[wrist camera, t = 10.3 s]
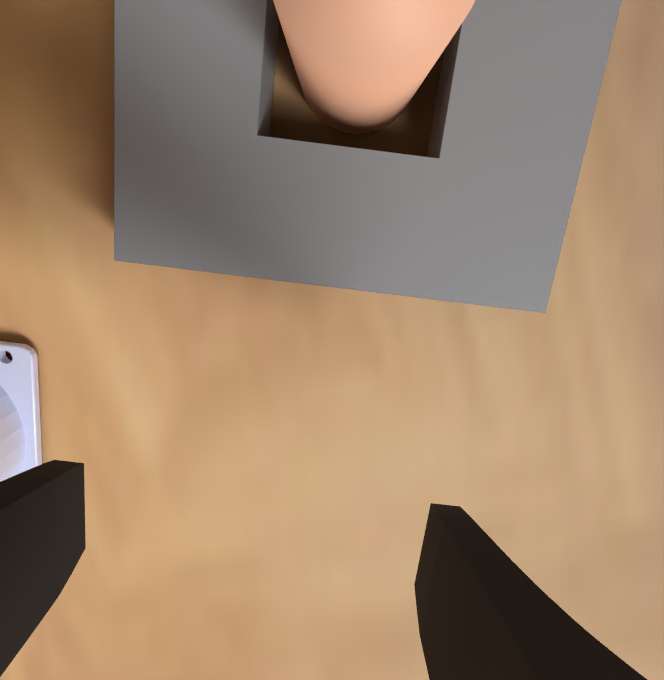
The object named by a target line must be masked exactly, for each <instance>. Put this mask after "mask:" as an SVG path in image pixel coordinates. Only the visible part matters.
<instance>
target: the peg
mask: <svg viewBox="0 0 664 680" xmlns="http://www.w3.org/2000/svg"><path fill="white" fill-rule="evenodd" d="M273 2H274V5H275V8H276V11H277V14H278V17H279V20H280V23H281V26H282V29H283V33H284V36H285V39H286V42H287V45H288V48H289V51H290V54H291V57H292V60H293V63H294V67H295V70H296V73H297V76H298V79H299V82H300V85H301V88H302V91H303V94H304V97H305V99H306V101H307V103H308V104H309V106H310V108H311V109H312V110H313V112H314V113H315V114H316V115H317V116H318V117H319V118H320V119H321V120H322V121H323V122H325V123H326V124H327V125H329V126H331V127H333V128H335V129H337V130H339V131H342V132H347V133H354V134H361V133H368V132H373V131H376V130H378V129H381V128H383V127H384V126H386V125H388V124H389V123H391V122H392V121H393V120H395V119H396V118H397V117H398V116H399V115H400V114H401V113H402V111H403V110H404V109H405V107H406V106H407V105H408V103H409V102H410V100H411V99H412V97H413V96H414V94H415V93H416V91H417V90H418V88H419V87H420V85H421V84H422V82H423V81H424V79H425V78H426V76H427V75H428V73H429V72H430V70H431V69H432V67H433V66H434V64H435V63H436V61H437V60H438V58H439V57H440V55H441V54H442V52H443V51H444V49H445V48H446V46H447V45H448V43H449V42H450V40H451V39H452V37H453V36H454V34H455V33H456V31H457V30H458V28H459V27H460V25H461V24H462V22H463V21H464V19H465V18H466V16H467V15H468V13H469V11H470V10H471V8H472V6H473V4H474V2H475V0H273Z"/></svg>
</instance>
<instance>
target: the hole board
mask: <svg viewBox="0 0 664 680" xmlns="http://www.w3.org/2000/svg"><path fill="white" fill-rule="evenodd" d="M621 1H622V0H475V2H474V4H473V6H472V8H471V10H470V11H469V13H468V15H467V16H466V18H465V19H464V21H463V22H462V24H461V25H460V27H459V28H458V30H457V31H456V33H455V34H454V36H453V37H452V39H451V40H450V42H449V43H448V45H447V46H446V48H445V49H444V53H443V59H442V65H441V71H440V77H439V83H438V89H437V96H436V102H435V108H434V114H433V120H432V126H431V133H430V139H429V145H428V151H427V157H423V156H415V155H407V154H399V153H392V152H384V151H376V150H368V149H360V148H352V147H344V146H337V145H329V144H321V143H313V142H305V141H297V140H289V139H281V138H274V137H270V125H271V112H272V100H273V87H274V75H275V62H276V50H277V37H278V25H279V17H278V14H277V11H276V8H275V5H274V2H273V0H114V261H123V262H131V263H139V264H147V265H155V266H164V267H172V268H180V269H188V270H196V271H204V272H213V273H221V274H229V275H237V276H245V277H254V278H262V279H270V280H278V281H286V282H294V283H303V284H311V285H319V286H327V287H335V288H344V289H352V290H360V291H368V292H376V293H384V294H393V295H401V296H409V297H417V298H425V299H433V300H442V301H450V302H458V303H466V304H474V305H483V306H491V307H499V308H507V309H515V310H523V311H532V312H540V313H545V312H546V308H547V304H548V300H549V296H550V292H551V288H552V284H553V280H554V275H555V271H556V267H557V263H558V259H559V255H560V251H561V247H562V243H563V239H564V234H565V230H566V226H567V222H568V218H569V214H570V210H571V206H572V202H573V198H574V193H575V189H576V185H577V181H578V177H579V173H580V169H581V165H582V161H583V157H584V152H585V148H586V144H587V140H588V136H589V132H590V128H591V124H592V120H593V115H594V111H595V107H596V103H597V99H598V95H599V91H600V87H601V83H602V79H603V74H604V70H605V66H606V62H607V58H608V54H609V50H610V46H611V42H612V38H613V33H614V29H615V25H616V21H617V17H618V13H619V9H620V5H621Z"/></svg>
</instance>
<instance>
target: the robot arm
mask: <svg viewBox="0 0 664 680" xmlns="http://www.w3.org/2000/svg"><path fill="white" fill-rule="evenodd" d="M6 351H8V352H9V353H10V354H11V355H12V358H13V359H12V360H9V359H8V358H7V357H6V354H5V353H6ZM84 550H85V499H84V463H76V462H68V461H59V460H53V461H50V462H47V463H44V464H42V450H41V427H40V405H39V382H38V360H37V354H36V352H35V350H34V349H33V348H32V347H30V346H29V345H26V344H21V343H13V342H5V341H0V677H1V675H2V674H3V672H4V671H5V670H6V668H7V667H8V666H9V664H10V663H11V661H12V660H13V659H14V657H15V656H16V655H17V653H18V652H19V651H20V649H21V648H22V646H23V645H24V644H25V642H26V641H27V640H28V638H29V637H30V635H31V634H32V633H33V631H34V630H35V628H36V627H37V626H38V624H39V623H40V622H41V620H42V619H43V617H44V616H45V615H46V613H47V612H48V610H49V609H50V608H51V606H52V605H53V603H54V602H55V600H56V599H57V598H58V596H59V595H60V593H61V591H62V589H63V588H64V586H65V584H66V582H67V581H68V579H69V577H70V576H71V574H72V572H73V570H74V568H75V566H76V564H77V563H78V561H79V559H80V557H81V555H82V553H83V551H84ZM415 595H416V605H417V615H418V623H419V632H420V638H421V643H422V647H423V652H424V656H425V661H426V665H427V670H428V674H429V679H430V680H647V679H646V678H644V677H643V676H642V675H640V674H639V673H638V672H637V671H635V670H634V669H633V668H631V667H630V666H629V665H628V664H626V663H625V662H624V661H623V660H621V659H620V658H619V657H618V656H616V655H615V654H614V653H613V652H612V651H610V650H609V649H608V648H607V647H605V646H604V645H603V644H602V643H600V642H599V641H598V640H597V639H595V638H594V637H593V636H592V635H591V634H590V633H588V632H587V631H586V630H585V629H584V628H583V627H581V626H580V625H579V624H578V623H577V622H576V621H574V620H573V619H572V618H571V617H570V616H569V615H568V614H567V613H566V612H565V611H564V610H562V609H561V608H560V607H559V606H558V605H557V604H556V603H555V602H554V601H553V600H552V599H550V598H549V597H548V596H547V595H546V594H545V593H544V592H543V591H542V590H541V589H540V588H539V587H538V586H537V585H536V584H535V583H534V582H533V581H532V580H531V579H530V578H529V577H528V576H527V575H526V574H525V573H524V572H523V571H522V570H521V569H520V568H519V567H518V566H517V565H516V564H515V563H514V562H513V561H512V560H511V559H510V558H509V557H508V556H507V555H506V554H505V553H504V552H503V551H502V550H501V549H500V548H499V547H498V546H497V545H496V544H495V542H494V541H493V540H492V539H491V538H490V537H489V536H488V535H487V534H486V533H485V532H484V531H483V530H482V529H481V528H480V527H479V525H478V524H477V523H476V522H475V521H474V520H473V519H472V518H471V517H470V516H469V515H468V514H467V513H466V512H465V511H464V510H463V509H462V508H461V507H459V506H450V505H441V504H432V503H431V505H430V510H429V515H428V520H427V525H426V530H425V535H424V540H423V545H422V550H421V555H420V560H419V565H418V570H417V575H416V580H415Z"/></svg>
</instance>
